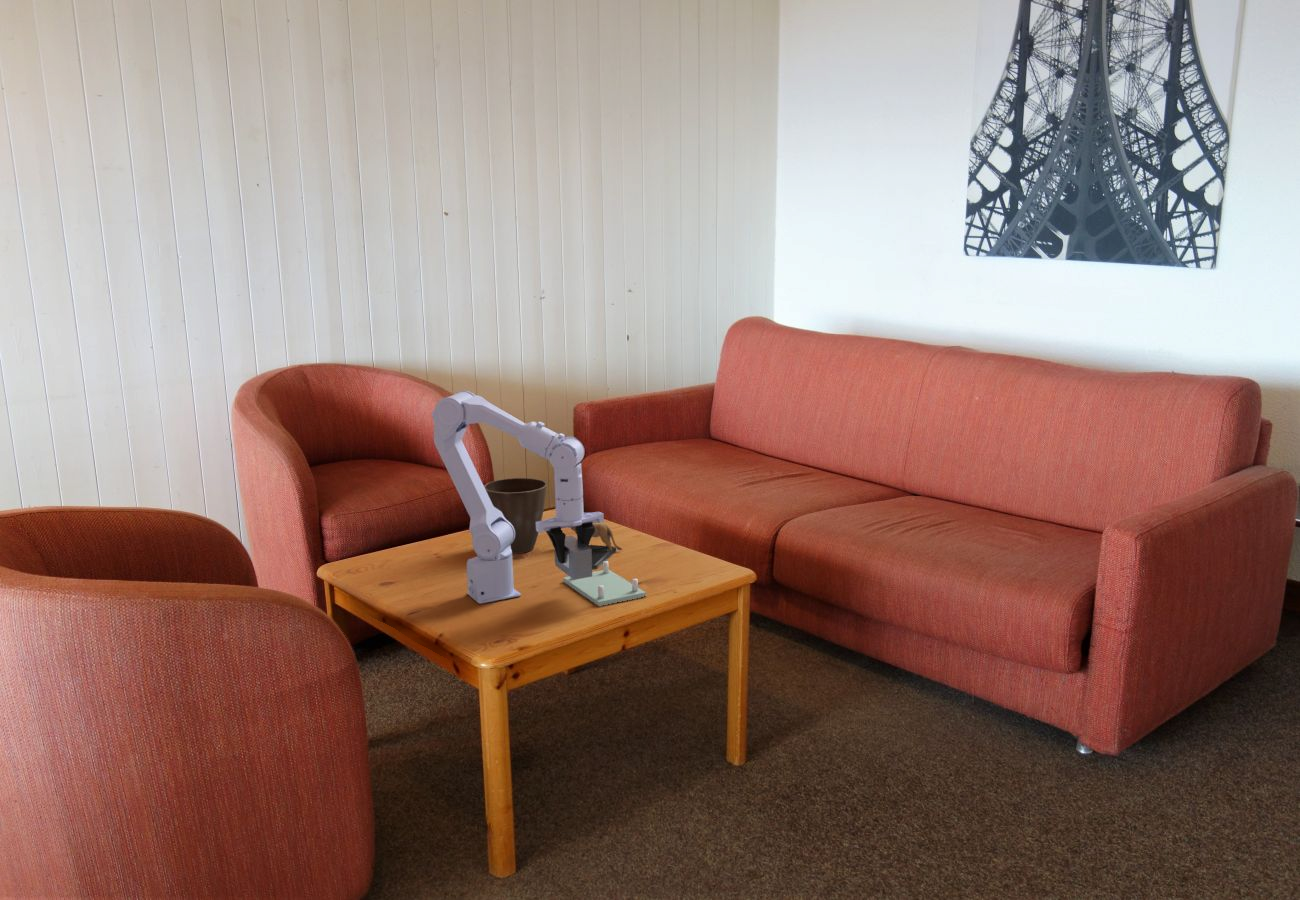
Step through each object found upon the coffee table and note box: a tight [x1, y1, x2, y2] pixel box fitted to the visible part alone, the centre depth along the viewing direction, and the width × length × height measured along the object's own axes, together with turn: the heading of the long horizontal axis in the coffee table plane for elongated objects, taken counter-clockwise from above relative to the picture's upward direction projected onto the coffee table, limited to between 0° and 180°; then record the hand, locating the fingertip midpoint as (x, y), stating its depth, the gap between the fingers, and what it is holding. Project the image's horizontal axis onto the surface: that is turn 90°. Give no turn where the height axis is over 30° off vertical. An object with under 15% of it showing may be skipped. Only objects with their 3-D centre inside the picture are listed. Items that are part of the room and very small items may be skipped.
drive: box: [554, 535, 593, 580], centre depth 230 cm, size 4×10×6 cm, turn 28°
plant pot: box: [483, 477, 547, 554], centre depth 267 cm, size 15×15×16 cm
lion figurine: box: [568, 522, 623, 551], centre depth 267 cm, size 15×5×9 cm, turn 65°
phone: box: [588, 544, 617, 570], centre depth 260 cm, size 8×1×15 cm
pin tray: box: [562, 560, 647, 607], centre depth 239 cm, size 11×18×4 cm, turn 28°
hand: (571, 560), depth 231 cm, fingers closed on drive, 4 cm apart
